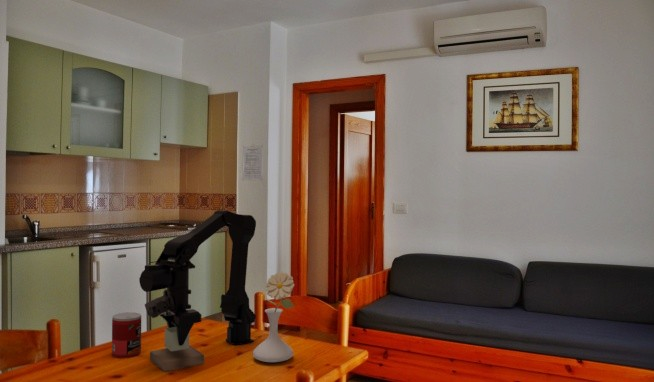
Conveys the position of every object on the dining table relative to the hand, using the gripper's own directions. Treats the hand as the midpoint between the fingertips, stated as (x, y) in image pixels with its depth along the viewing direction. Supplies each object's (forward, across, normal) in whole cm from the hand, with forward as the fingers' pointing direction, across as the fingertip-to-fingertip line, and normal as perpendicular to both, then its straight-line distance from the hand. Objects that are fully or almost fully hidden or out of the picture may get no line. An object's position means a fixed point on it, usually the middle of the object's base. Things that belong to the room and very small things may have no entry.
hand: (177, 342), depth 141 cm
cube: (+1, 0, 0) cm, 1 cm away
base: (+5, 0, 0) cm, 5 cm away
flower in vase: (+6, +14, +23) cm, 27 cm away
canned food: (+6, -15, -9) cm, 18 cm away
